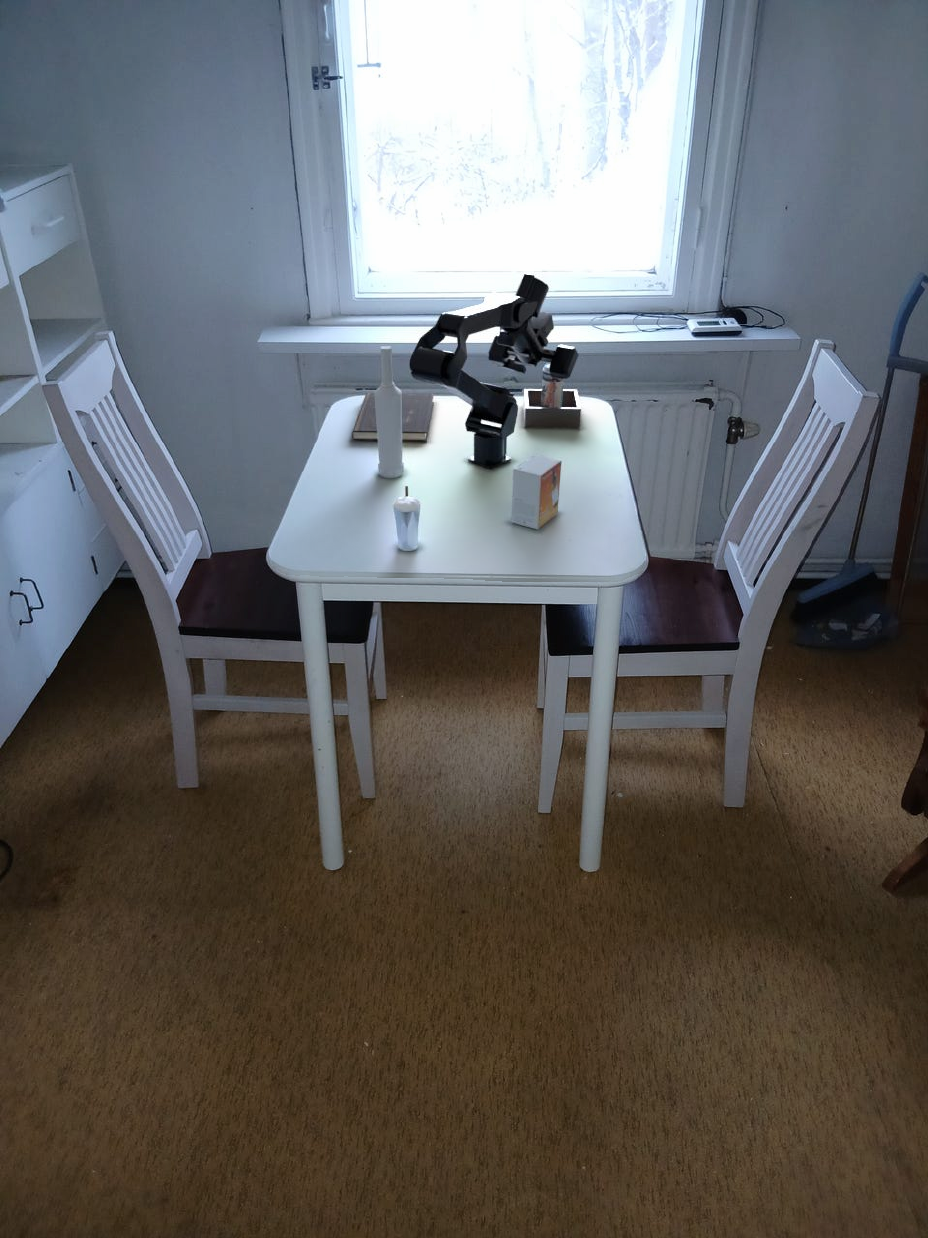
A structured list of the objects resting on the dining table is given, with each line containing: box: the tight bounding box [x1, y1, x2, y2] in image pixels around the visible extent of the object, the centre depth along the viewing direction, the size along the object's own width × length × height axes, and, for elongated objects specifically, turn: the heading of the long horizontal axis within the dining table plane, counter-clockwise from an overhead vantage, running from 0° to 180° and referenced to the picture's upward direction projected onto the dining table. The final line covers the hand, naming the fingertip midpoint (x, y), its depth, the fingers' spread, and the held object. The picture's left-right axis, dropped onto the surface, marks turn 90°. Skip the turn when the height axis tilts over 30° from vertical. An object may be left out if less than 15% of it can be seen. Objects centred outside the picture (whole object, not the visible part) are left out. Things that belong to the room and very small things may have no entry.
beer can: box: [541, 362, 565, 408], centre depth 203 cm, size 5×5×12 cm
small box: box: [510, 454, 562, 530], centre depth 163 cm, size 8×6×10 cm
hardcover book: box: [351, 392, 435, 443], centre depth 204 cm, size 16×23×2 cm
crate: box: [522, 388, 582, 429], centre depth 206 cm, size 12×12×4 cm
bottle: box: [373, 345, 405, 479], centre depth 175 cm, size 5×5×25 cm
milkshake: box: [392, 485, 421, 552], centre depth 155 cm, size 5×5×10 cm
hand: (543, 375), depth 197 cm, fingers open, 9 cm apart
